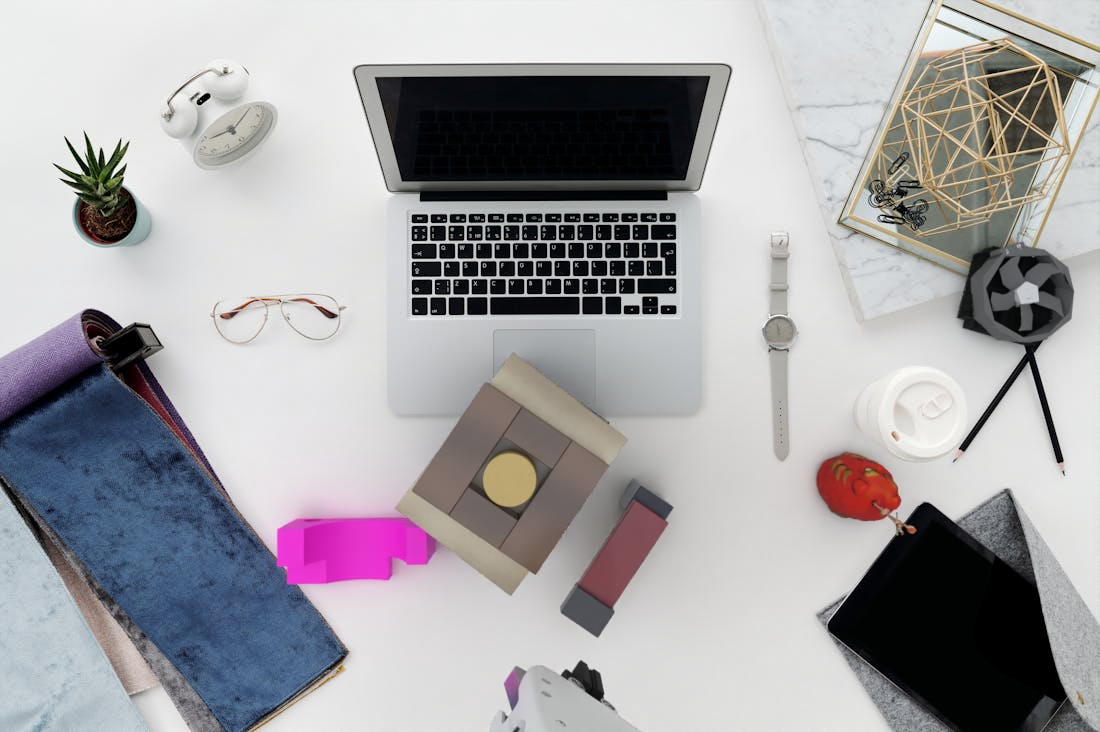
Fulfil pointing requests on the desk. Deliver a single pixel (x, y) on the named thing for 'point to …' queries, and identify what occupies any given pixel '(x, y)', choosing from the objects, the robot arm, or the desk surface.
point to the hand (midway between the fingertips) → (577, 684)
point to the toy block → (349, 548)
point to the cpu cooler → (1017, 294)
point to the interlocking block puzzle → (547, 439)
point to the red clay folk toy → (859, 489)
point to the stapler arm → (613, 568)
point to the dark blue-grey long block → (645, 499)
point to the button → (510, 478)
